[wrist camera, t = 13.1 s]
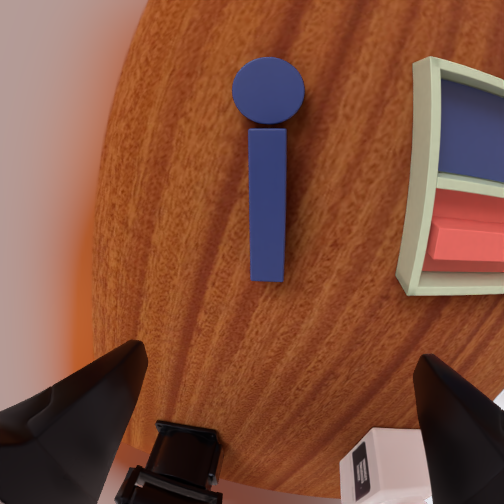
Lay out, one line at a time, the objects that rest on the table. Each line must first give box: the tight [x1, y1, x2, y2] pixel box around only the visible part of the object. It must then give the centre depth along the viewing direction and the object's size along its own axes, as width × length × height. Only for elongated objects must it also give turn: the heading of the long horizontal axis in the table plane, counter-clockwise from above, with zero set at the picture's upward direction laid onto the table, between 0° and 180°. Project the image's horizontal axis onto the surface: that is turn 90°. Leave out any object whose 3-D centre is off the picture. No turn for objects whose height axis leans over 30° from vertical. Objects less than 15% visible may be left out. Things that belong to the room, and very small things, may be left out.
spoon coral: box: [426, 216, 504, 262], centre depth 14 cm, size 12×4×2 cm, turn 91°
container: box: [340, 427, 432, 504], centre depth 20 cm, size 8×8×13 cm
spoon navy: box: [232, 57, 305, 282], centre depth 15 cm, size 12×4×2 cm, turn 1°
